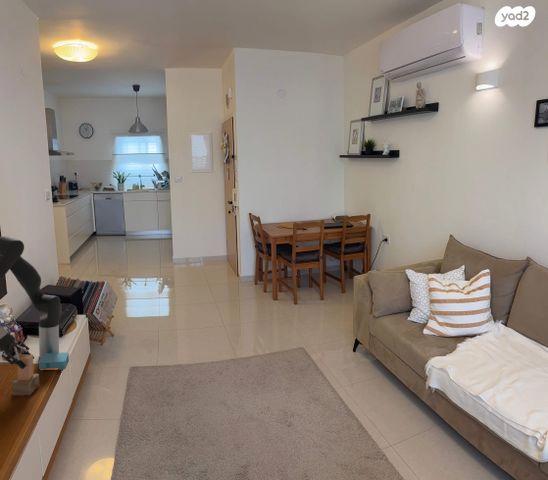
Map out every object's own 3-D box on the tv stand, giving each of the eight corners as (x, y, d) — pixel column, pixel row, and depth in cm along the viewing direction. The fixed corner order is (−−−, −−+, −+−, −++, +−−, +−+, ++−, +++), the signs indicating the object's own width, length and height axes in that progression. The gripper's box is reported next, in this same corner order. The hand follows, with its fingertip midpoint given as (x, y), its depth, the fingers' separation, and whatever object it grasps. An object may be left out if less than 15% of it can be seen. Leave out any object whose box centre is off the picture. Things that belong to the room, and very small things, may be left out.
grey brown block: (23, 385, 201) (23, 373, 200) (39, 386, 201) (39, 374, 200) (12, 395, 192) (12, 382, 191) (28, 396, 192) (28, 383, 191)
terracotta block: (17, 380, 193) (17, 358, 192) (22, 375, 198) (21, 354, 196) (29, 380, 194) (28, 358, 192) (33, 375, 198) (32, 354, 197)
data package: (38, 371, 215) (65, 370, 218) (38, 362, 215) (65, 361, 218) (43, 361, 227) (69, 360, 230) (43, 353, 226) (69, 352, 229)
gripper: (-1, 338, 185) (28, 364, 188) (14, 327, 199) (41, 351, 202) (-15, 350, 185) (15, 376, 188) (1, 338, 199) (29, 362, 202)
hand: (28, 363), depth 195 cm, fingers open, 8 cm apart
